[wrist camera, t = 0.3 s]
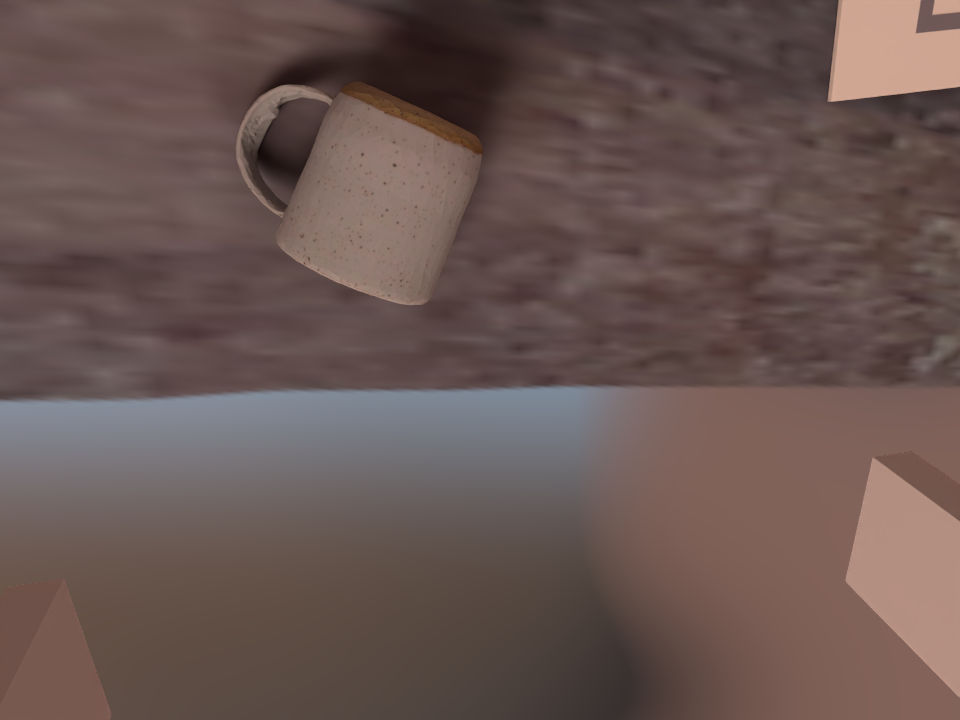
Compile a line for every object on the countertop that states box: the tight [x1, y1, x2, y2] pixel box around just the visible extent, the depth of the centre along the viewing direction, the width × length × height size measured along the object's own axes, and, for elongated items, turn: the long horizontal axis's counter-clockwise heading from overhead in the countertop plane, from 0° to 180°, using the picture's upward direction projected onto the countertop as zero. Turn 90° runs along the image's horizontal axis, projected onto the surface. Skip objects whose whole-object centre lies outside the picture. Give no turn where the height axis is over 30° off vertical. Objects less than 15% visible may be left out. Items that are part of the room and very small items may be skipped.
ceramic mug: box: [236, 81, 483, 305], centre depth 32 cm, size 11×8×8 cm
